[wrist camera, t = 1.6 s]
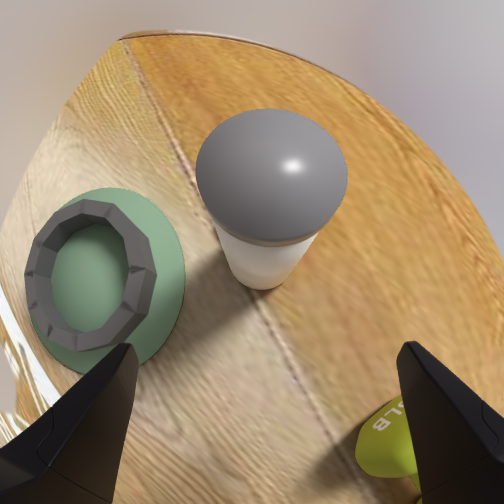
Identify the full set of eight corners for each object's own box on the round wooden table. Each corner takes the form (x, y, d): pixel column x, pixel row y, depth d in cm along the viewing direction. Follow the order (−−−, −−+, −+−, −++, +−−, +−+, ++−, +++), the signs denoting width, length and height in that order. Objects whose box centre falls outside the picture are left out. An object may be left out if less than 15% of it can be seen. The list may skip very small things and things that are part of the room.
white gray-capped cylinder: (264, 305, 21) (283, 273, 9) (212, 259, 22) (165, 172, 10) (309, 253, 22) (373, 164, 10) (258, 211, 23) (263, 90, 11)
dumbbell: (334, 433, 19) (366, 471, 12) (411, 371, 20) (465, 382, 13) (406, 526, 15) (437, 559, 8) (466, 475, 17) (506, 497, 10)
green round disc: (100, 413, 19) (83, 421, 16) (8, 280, 22) (-10, 275, 19) (229, 272, 22) (225, 264, 19) (107, 159, 25) (94, 143, 22)
